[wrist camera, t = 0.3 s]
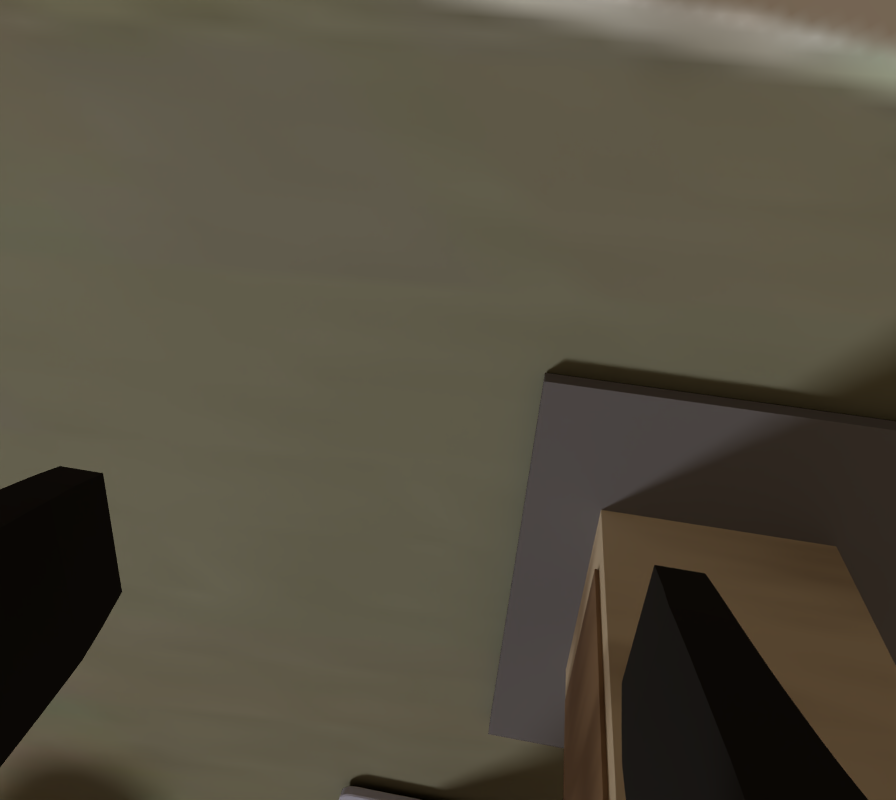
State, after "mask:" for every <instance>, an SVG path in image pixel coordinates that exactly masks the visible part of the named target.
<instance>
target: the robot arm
mask: <svg viewBox="0 0 896 800" xmlns="http://www.w3.org/2000/svg"><path fill="white" fill-rule="evenodd" d="M121 593H122V589H121V583H120V577H119V571H118V564H117V558H116V552H115V546H114V539H113V533H112V527H111V521H110V514H109V508H108V502H107V496H106V489H105V483H104V477H103V473H98V472H92V471H86V470H80V469H74V468H68V467H62V466H60V467H57V468H54V469H51V470H48V471H45V472H42V473H40V474H37V475H35V476H32V477H29V478H27V479H24V480H22V481H20V482H17V483H15V484H12V485H10V486H7V487H5V488H3V489H0V767H1V765H2V764H3V763H4V762H5V760H6V759H7V758H8V756H9V755H10V754H11V753H12V751H13V750H14V749H15V747H16V746H17V745H18V744H19V742H20V741H21V740H22V738H23V737H24V736H25V735H26V733H27V732H28V731H29V729H30V728H31V727H32V726H33V724H34V723H35V722H36V720H37V719H38V718H39V717H40V715H41V714H42V713H43V711H44V710H45V709H46V707H47V706H48V705H49V703H50V702H51V701H52V699H53V698H54V697H55V696H56V694H57V693H58V692H59V690H60V689H61V688H62V686H63V685H64V684H65V682H66V681H67V680H68V678H69V677H70V676H71V674H72V673H73V672H74V670H75V669H76V668H77V666H78V665H79V664H80V662H81V661H82V660H83V658H84V656H85V655H86V653H87V651H88V650H89V648H90V646H91V645H92V643H93V641H94V640H95V638H96V637H97V635H98V633H99V632H100V630H101V628H102V626H103V625H104V623H105V621H106V619H107V618H108V616H109V614H110V612H111V610H112V609H113V607H114V605H115V603H116V602H117V600H118V598H119V596H120V594H121ZM621 728H622V769H623V778H624V788H625V796H626V800H868V799H867V798H866V796H865V795H864V794H863V793H862V791H861V790H860V789H859V788H858V786H857V785H856V784H855V783H854V781H853V780H852V779H851V778H850V776H849V775H848V774H847V773H846V771H845V770H844V769H843V768H842V766H841V765H840V764H839V762H838V761H837V760H836V758H835V757H834V756H833V755H832V753H831V752H830V751H829V749H828V748H827V747H826V745H825V744H824V743H823V741H822V740H821V739H820V738H819V736H818V735H817V733H816V732H815V731H814V729H813V728H812V727H811V725H810V724H809V722H808V721H807V720H806V718H805V717H804V716H803V714H802V713H801V711H800V710H799V709H798V707H797V706H796V705H795V703H794V702H793V700H792V699H791V698H790V696H789V695H788V694H787V692H786V691H785V690H784V688H783V687H782V685H781V684H780V682H779V681H778V680H777V678H776V677H775V675H774V674H773V672H772V671H771V670H770V668H769V667H768V665H767V664H766V662H765V661H764V659H763V658H762V657H761V655H760V654H759V652H758V651H757V649H756V648H755V646H754V645H753V643H752V642H751V640H750V639H749V637H748V636H747V634H746V633H745V631H744V630H743V628H742V627H741V625H740V624H739V622H738V621H737V619H736V618H735V616H734V615H733V613H732V612H731V610H730V609H729V607H728V606H727V604H726V603H725V601H724V600H723V598H722V597H721V595H720V594H719V592H718V591H717V589H716V588H715V586H714V585H713V584H712V582H711V581H710V579H709V578H708V576H707V575H706V574H705V573H701V572H695V571H689V570H682V569H676V568H670V567H664V566H658V565H654V568H653V572H652V575H651V579H650V582H649V586H648V590H647V593H646V597H645V600H644V604H643V608H642V611H641V615H640V619H639V622H638V626H637V629H636V633H635V637H634V640H633V644H632V647H631V651H630V655H629V658H628V662H627V665H626V669H625V673H624V676H623V680H622V723H621ZM339 800H421V799H416V798H411V797H406V796H401V795H396V794H391V793H386V792H381V791H376V790H371V789H366V788H361V787H356V786H348V787H345V788H344V789H342V792H341V795H340V798H339Z"/></svg>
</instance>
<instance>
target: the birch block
mask: <svg viewBox="0 0 896 800" xmlns="http://www.w3.org/2000/svg"><path fill="white" fill-rule="evenodd" d="M654 565H658V566H664V567H670V568H676V569H682V570H689V571H695V572H701V573H705V574H706V575H707V576H708V578H709V579H710V581H711V582H712V584H713V585H714V586H715V588H716V589H717V591H718V592H719V594H720V595H721V597H722V598H723V600H724V601H725V603H726V604H727V606H728V607H729V609H730V610H731V612H732V613H733V615H734V616H735V618H736V619H737V621H738V622H739V624H740V625H741V627H742V628H743V630H744V631H745V633H746V634H747V636H748V637H749V639H750V640H751V642H752V643H753V645H754V646H755V648H756V649H757V651H758V652H759V654H760V655H761V657H762V658H763V659H764V661H765V662H766V664H767V665H768V667H769V668H770V670H771V671H772V672H773V674H774V675H775V677H776V678H777V680H778V681H779V682H780V684H781V685H782V687H783V688H784V690H785V691H786V692H787V694H788V695H789V696H790V698H791V699H792V700H793V702H794V703H795V705H796V706H797V707H798V709H799V710H800V711H801V713H802V714H803V716H804V717H805V718H806V720H807V721H808V722H809V724H810V725H811V727H812V728H813V729H814V731H815V732H816V733H817V735H818V736H819V738H820V739H821V740H822V741H823V743H824V744H825V745H826V747H827V748H828V749H829V751H830V752H831V753H832V755H833V756H834V757H835V758H836V760H837V761H838V762H839V764H840V765H841V766H842V768H843V769H844V770H845V771H846V773H847V774H848V775H849V776H850V778H851V779H852V780H853V781H854V783H855V784H856V785H857V786H858V788H859V789H860V790H861V791H862V793H863V794H864V795H865V796H866V798H867V799H868V800H896V665H895V663H894V661H893V659H892V657H891V655H890V653H889V651H888V649H887V647H886V645H885V643H884V641H883V639H882V637H881V635H880V633H879V631H878V629H877V627H876V625H875V623H874V621H873V619H872V617H871V615H870V613H869V611H868V609H867V607H866V605H865V603H864V601H863V599H862V597H861V595H860V593H859V591H858V589H857V587H856V585H855V583H854V581H853V579H852V577H851V575H850V573H849V571H848V569H847V567H846V565H845V563H844V561H843V559H842V557H841V555H840V553H839V551H838V549H837V547H836V546H830V545H824V544H817V543H811V542H805V541H798V540H792V539H785V538H779V537H772V536H766V535H760V534H753V533H747V532H740V531H734V530H728V529H721V528H715V527H708V526H702V525H695V524H689V523H683V522H676V521H670V520H663V519H657V518H651V517H644V516H638V515H631V514H625V513H618V512H612V511H606V510H601V512H600V517H599V521H598V526H597V530H596V535H595V540H594V544H593V549H592V553H591V558H590V562H589V567H588V571H587V576H586V580H585V585H584V590H583V594H582V599H581V603H580V608H579V612H578V617H577V621H576V626H575V630H574V635H573V639H572V644H571V649H570V653H569V658H568V662H567V667H566V692H565V725H564V788H563V800H626V796H625V788H624V778H623V769H622V728H621V723H622V680H623V676H624V673H625V669H626V665H627V662H628V658H629V655H630V651H631V647H632V644H633V640H634V637H635V633H636V629H637V626H638V622H639V619H640V615H641V611H642V608H643V604H644V600H645V597H646V593H647V590H648V586H649V582H650V579H651V575H652V572H653V568H654Z"/></svg>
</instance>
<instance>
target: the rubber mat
mask: <svg viewBox="0 0 896 800" xmlns="http://www.w3.org/2000/svg"><path fill="white" fill-rule="evenodd" d="M601 510H606V511H612V512H618V513H625V514H631V515H638V516H644V517H651V518H657V519H663V520H670V521H676V522H683V523H689V524H695V525H702V526H708V527H715V528H721V529H728V530H734V531H740V532H747V533H753V534H760V535H766V536H772V537H779V538H785V539H792V540H798V541H805V542H811V543H817V544H824V545H830V546H836V547H837V549H838V551H839V553H840V555H841V557H842V559H843V561H844V563H845V565H846V567H847V569H848V571H849V573H850V575H851V577H852V579H853V581H854V583H855V585H856V587H857V589H858V591H859V593H860V595H861V597H862V599H863V601H864V603H865V605H866V607H867V609H868V611H869V613H870V615H871V617H872V619H873V621H874V623H875V625H876V627H877V629H878V631H879V633H880V635H881V637H882V639H883V641H884V643H885V645H886V647H887V649H888V651H889V653H890V655H891V657H892V659H893V661H894V663H895V665H896V421H890V420H883V419H875V418H868V417H861V416H854V415H847V414H839V413H832V412H825V411H818V410H810V409H803V408H796V407H789V406H782V405H774V404H767V403H760V402H753V401H745V400H738V399H731V398H724V397H716V396H709V395H702V394H695V393H688V392H680V391H673V390H666V389H659V388H651V387H644V386H637V385H630V384H623V383H615V382H608V381H601V380H594V379H586V378H579V377H572V376H565V375H558V374H550V373H545V377H544V383H543V389H542V396H541V402H540V408H539V415H538V421H537V427H536V433H535V440H534V446H533V452H532V459H531V465H530V471H529V478H528V484H527V490H526V497H525V503H524V509H523V516H522V522H521V528H520V535H519V541H518V547H517V554H516V560H515V566H514V572H513V579H512V585H511V591H510V598H509V604H508V610H507V617H506V623H505V629H504V636H503V642H502V648H501V655H500V661H499V667H498V674H497V680H496V686H495V692H494V699H493V705H492V711H491V718H490V725H489V733H488V734H491V735H496V736H502V737H507V738H512V739H517V740H523V741H528V742H533V743H539V744H544V745H549V746H555V747H560V748H564V725H565V692H566V667H567V662H568V658H569V653H570V649H571V644H572V639H573V635H574V630H575V626H576V621H577V617H578V612H579V608H580V603H581V599H582V594H583V590H584V585H585V580H586V576H587V571H588V567H589V562H590V558H591V553H592V549H593V544H594V540H595V535H596V530H597V526H598V521H599V517H600V512H601Z"/></svg>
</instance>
